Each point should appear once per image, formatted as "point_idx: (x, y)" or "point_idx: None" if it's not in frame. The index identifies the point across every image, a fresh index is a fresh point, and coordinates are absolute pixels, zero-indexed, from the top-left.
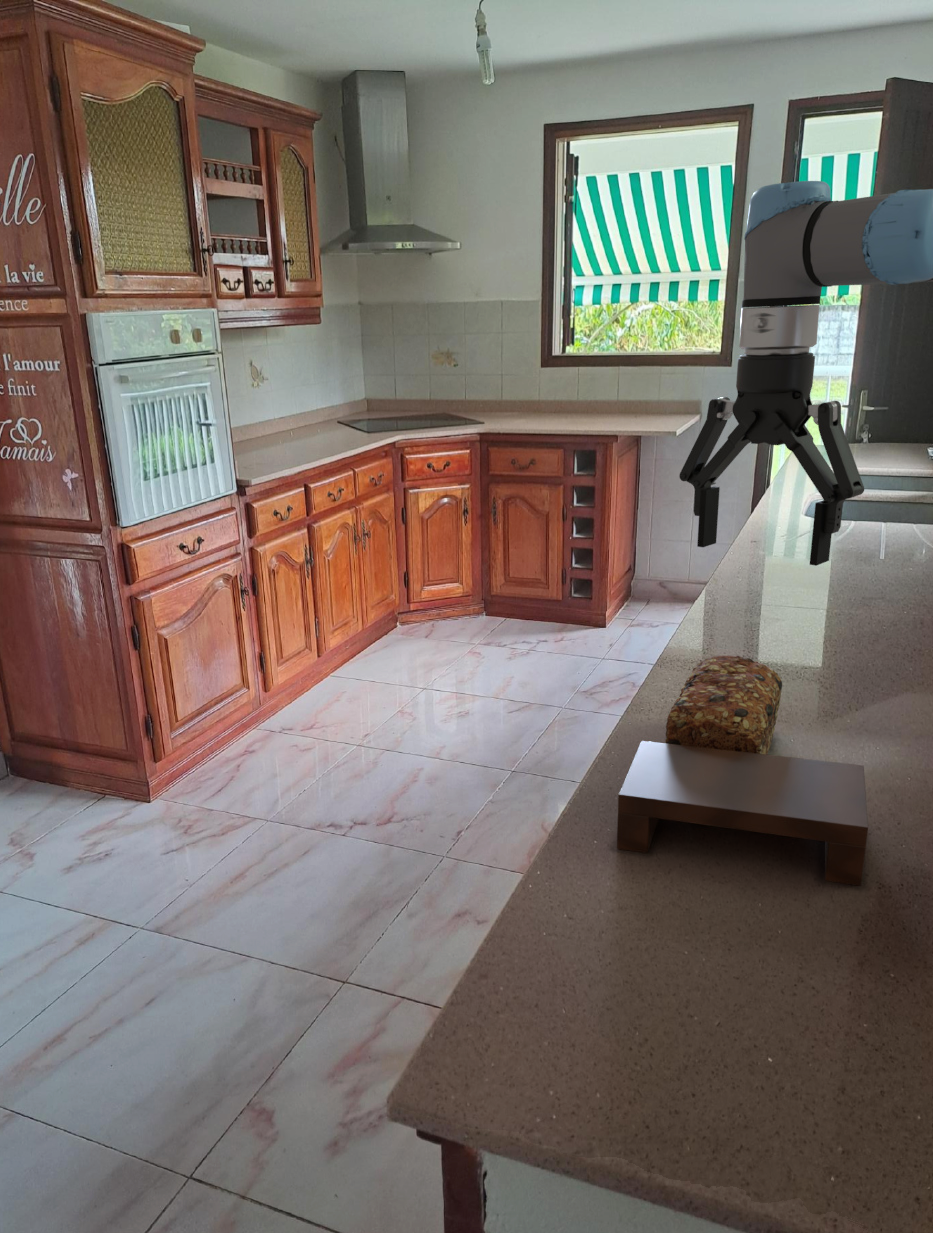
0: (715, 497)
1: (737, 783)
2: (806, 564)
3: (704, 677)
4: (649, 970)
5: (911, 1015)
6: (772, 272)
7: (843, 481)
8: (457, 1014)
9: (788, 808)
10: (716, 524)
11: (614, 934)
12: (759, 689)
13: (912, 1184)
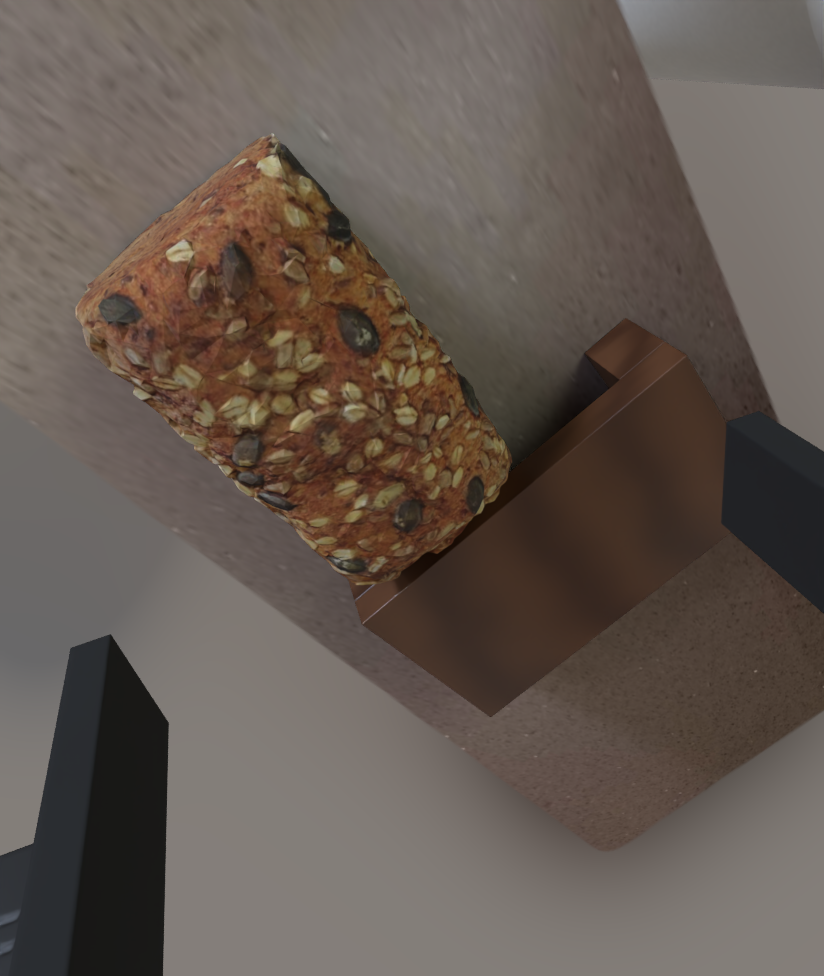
0: (99, 959)
1: (577, 573)
2: None
3: (287, 471)
4: (633, 702)
5: None
6: None
7: None
8: (569, 824)
9: (671, 557)
10: (101, 734)
11: (578, 708)
12: (420, 390)
13: None
